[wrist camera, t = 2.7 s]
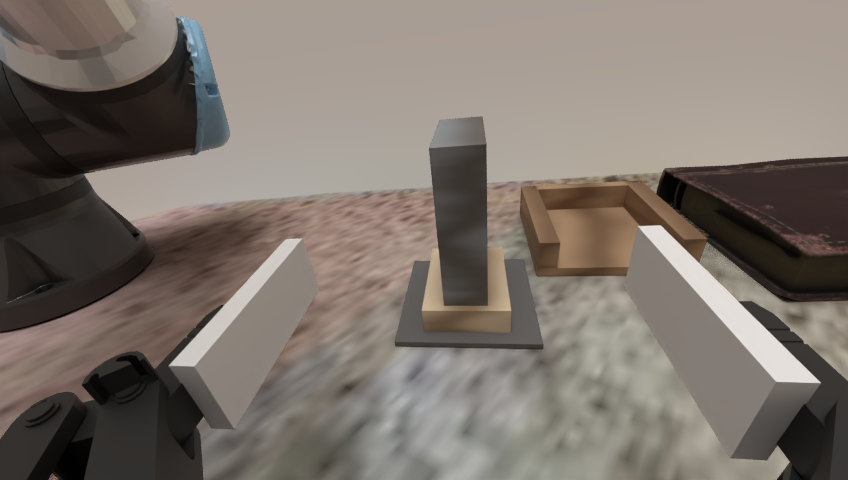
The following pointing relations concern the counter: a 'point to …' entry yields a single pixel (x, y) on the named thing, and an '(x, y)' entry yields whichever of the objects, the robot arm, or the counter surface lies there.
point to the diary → (773, 220)
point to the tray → (596, 226)
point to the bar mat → (521, 335)
